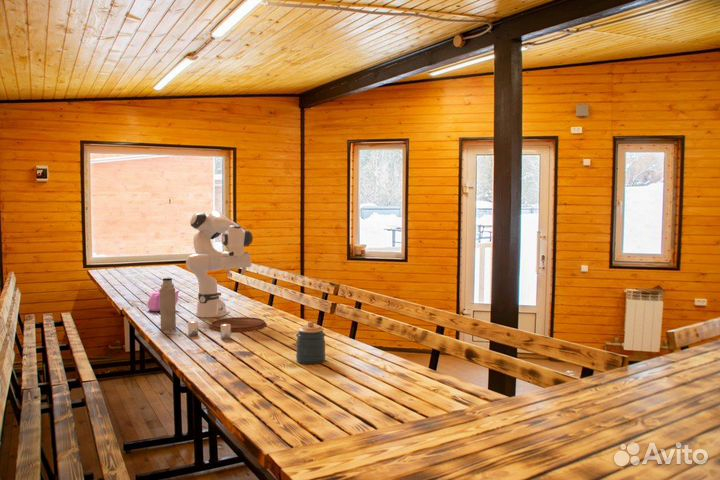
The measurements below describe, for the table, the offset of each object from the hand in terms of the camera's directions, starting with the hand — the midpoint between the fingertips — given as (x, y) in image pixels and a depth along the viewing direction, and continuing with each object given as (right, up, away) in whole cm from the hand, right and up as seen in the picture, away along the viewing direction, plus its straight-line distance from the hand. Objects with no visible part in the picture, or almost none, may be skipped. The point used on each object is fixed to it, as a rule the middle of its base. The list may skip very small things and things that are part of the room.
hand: (236, 275), depth 331 cm
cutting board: (+4, -29, -13) cm, 31 cm away
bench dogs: (-6, -29, -39) cm, 49 cm away
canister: (+51, -32, -84) cm, 104 cm away
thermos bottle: (-34, -28, -18) cm, 48 cm away
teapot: (-55, -25, +36) cm, 71 cm away
